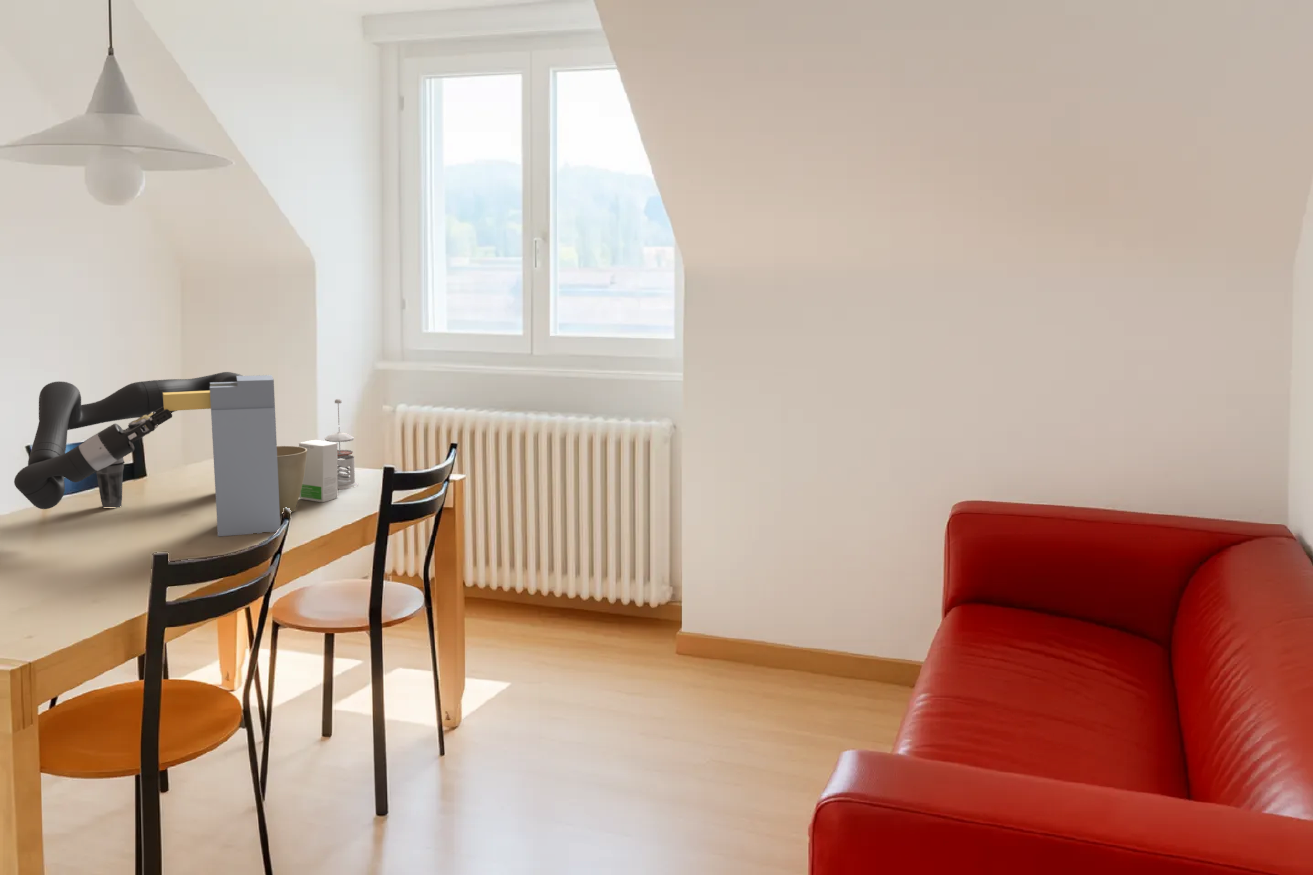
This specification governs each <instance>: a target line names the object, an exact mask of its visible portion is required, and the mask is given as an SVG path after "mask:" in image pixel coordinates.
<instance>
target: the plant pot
mask: <svg viewBox="0 0 1313 875" xmlns="http://www.w3.org/2000/svg"><path fill="white" fill-rule="evenodd" d="M306 457H307V449H306V448H304V447H299V445H298V446H295V445H277V463H278V486H279V509H280V515H283V514H282V512H283V508H285V507H287V508H290V510H291V511H292V512H291V513H294V512H295V511H296V508H297V505H298V502H299V500H300V498H299V496H300V492H301V488H302V484H303V479H304V473H305V467H306Z"/></svg>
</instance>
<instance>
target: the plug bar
mask: <svg viewBox="0 0 1313 875" xmlns="http://www.w3.org/2000/svg"><path fill="white" fill-rule="evenodd" d="M163 404H164V410H165V409H168V410H169V411H175V412H178V411H191V410H192V411H193V410H211V401H210V390H208V391H188V392H167V393H163Z"/></svg>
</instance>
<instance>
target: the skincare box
mask: <svg viewBox="0 0 1313 875" xmlns="http://www.w3.org/2000/svg"><path fill="white" fill-rule="evenodd" d="M338 445H339V442H330V441H326V440H320V439H319V440H318V439H311V440H306V441H301V442H299V443H298V447H304V448H306V449H307V457H306V467H305V473H304V479H303V484H302V488H301V492H300V496H299V500H304V501H313V502H319V503H327V502H329V501H332V500H335V499H338V489H337V470H338V469H337V466H338V465H337V460H338V459H337V450H338Z"/></svg>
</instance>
